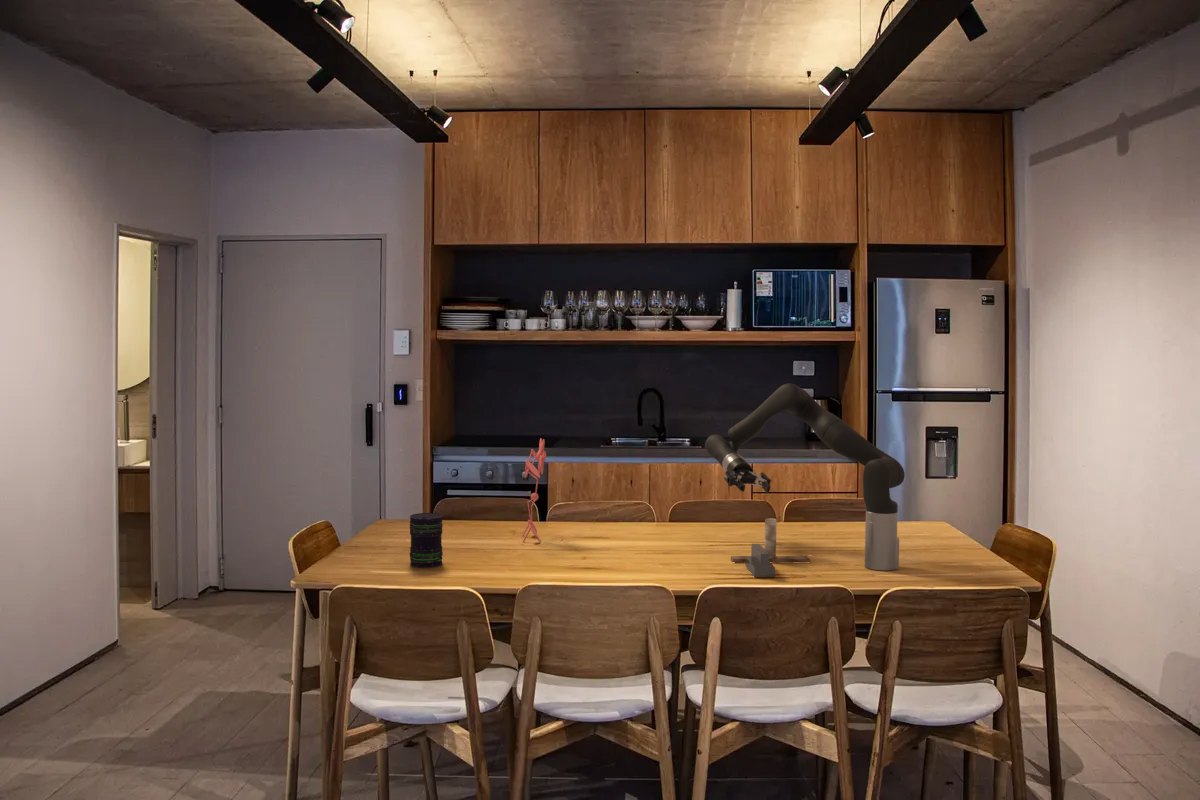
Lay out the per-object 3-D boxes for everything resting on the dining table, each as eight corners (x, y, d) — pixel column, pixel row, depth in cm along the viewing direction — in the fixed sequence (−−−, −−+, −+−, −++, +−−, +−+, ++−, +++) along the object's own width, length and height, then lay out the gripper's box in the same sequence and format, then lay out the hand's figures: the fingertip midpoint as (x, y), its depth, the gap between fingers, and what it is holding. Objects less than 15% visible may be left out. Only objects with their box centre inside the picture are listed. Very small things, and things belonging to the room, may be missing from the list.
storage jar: (414, 560, 285) (413, 512, 284) (445, 560, 285) (445, 513, 284) (406, 568, 275) (406, 518, 274) (438, 568, 275) (438, 519, 274)
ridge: (764, 566, 281) (765, 543, 280) (774, 577, 267) (775, 553, 266) (745, 566, 281) (745, 543, 280) (754, 577, 267) (754, 553, 266)
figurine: (520, 547, 304) (523, 441, 303) (519, 532, 330) (521, 434, 328) (567, 547, 306) (570, 442, 304) (561, 532, 332) (564, 435, 330)
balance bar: (806, 560, 290) (807, 518, 289) (809, 563, 286) (810, 520, 285) (730, 560, 289) (731, 518, 288) (732, 563, 285) (733, 520, 284)
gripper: (719, 456, 303) (737, 477, 288) (758, 458, 307) (779, 479, 292) (715, 477, 305) (733, 499, 291) (754, 478, 309) (774, 500, 295)
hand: (756, 489), depth 291 cm, fingers open, 8 cm apart
